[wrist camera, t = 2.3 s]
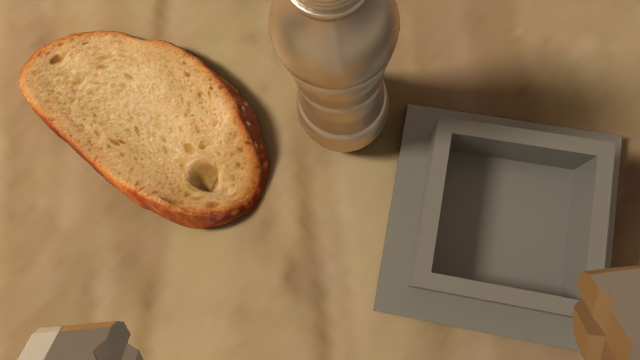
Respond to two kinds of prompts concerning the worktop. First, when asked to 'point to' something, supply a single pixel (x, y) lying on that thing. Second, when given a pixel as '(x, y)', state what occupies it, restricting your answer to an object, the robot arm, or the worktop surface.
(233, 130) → the slice of bread
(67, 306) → the worktop surface
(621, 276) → the robot arm
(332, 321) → the worktop surface
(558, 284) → the holder
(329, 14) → the plastic bottle
